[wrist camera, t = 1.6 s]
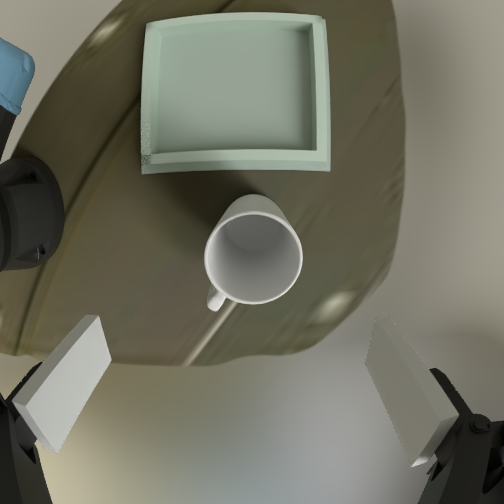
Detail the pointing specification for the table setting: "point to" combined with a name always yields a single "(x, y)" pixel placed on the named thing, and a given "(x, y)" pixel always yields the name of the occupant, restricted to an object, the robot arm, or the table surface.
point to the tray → (235, 93)
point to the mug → (251, 253)
